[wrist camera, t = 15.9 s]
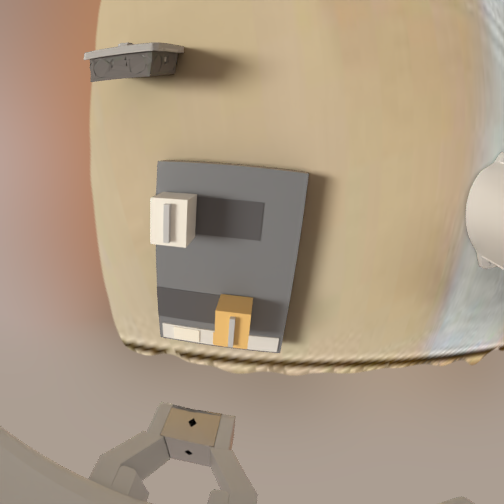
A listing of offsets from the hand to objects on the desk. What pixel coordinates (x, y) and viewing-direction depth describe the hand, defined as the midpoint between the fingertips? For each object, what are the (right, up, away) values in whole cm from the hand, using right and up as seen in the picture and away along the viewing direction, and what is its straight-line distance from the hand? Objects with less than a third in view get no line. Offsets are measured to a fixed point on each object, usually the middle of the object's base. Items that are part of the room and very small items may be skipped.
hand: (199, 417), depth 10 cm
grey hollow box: (-11, +30, +20) cm, 38 cm away
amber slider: (0, -1, +27) cm, 27 cm away
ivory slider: (-6, +11, +23) cm, 26 cm away
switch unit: (-1, +6, +28) cm, 28 cm away
